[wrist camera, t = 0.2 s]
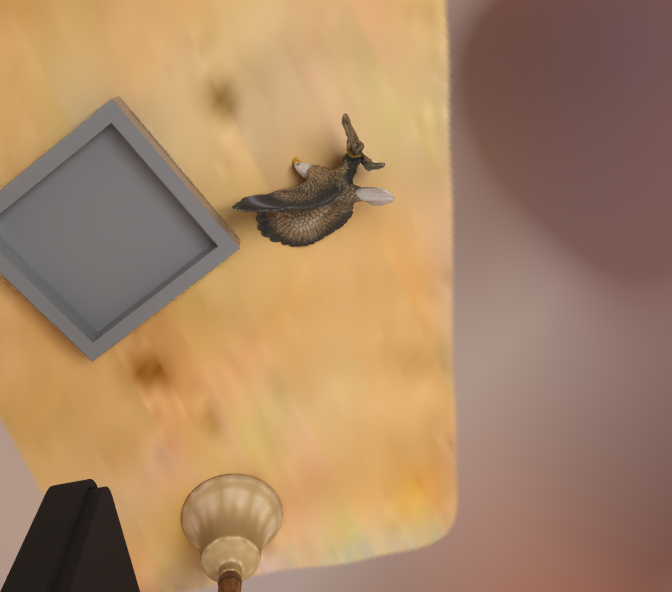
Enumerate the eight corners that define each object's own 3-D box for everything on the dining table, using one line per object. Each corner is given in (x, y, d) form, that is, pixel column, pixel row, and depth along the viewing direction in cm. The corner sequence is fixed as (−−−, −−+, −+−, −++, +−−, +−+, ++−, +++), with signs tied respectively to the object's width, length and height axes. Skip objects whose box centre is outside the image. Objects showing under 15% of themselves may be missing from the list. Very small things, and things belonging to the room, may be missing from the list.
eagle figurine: (309, 88, 41) (209, 185, 41) (379, 132, 37) (267, 241, 37) (353, 161, 47) (267, 246, 47) (417, 206, 43) (322, 300, 43)
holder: (-32, 219, 42) (-47, 228, 40) (119, 96, 41) (112, 98, 39) (99, 346, 46) (92, 361, 44) (239, 239, 45) (239, 248, 43)
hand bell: (159, 516, 52) (127, 697, 37) (235, 455, 51) (232, 616, 36) (229, 571, 55) (225, 760, 40) (302, 514, 54) (325, 686, 39)
